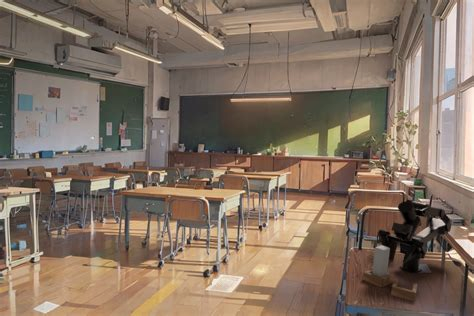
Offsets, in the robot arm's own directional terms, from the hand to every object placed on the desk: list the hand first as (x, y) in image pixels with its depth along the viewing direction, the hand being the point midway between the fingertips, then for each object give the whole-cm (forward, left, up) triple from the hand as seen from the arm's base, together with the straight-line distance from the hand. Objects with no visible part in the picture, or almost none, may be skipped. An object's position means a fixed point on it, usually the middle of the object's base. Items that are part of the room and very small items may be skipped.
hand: (392, 258), depth 153 cm
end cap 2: (+8, +12, -8) cm, 17 cm away
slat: (+8, +1, -7) cm, 11 cm away
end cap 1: (+8, +1, -8) cm, 12 cm away
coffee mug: (-20, -18, -8) cm, 28 cm away
